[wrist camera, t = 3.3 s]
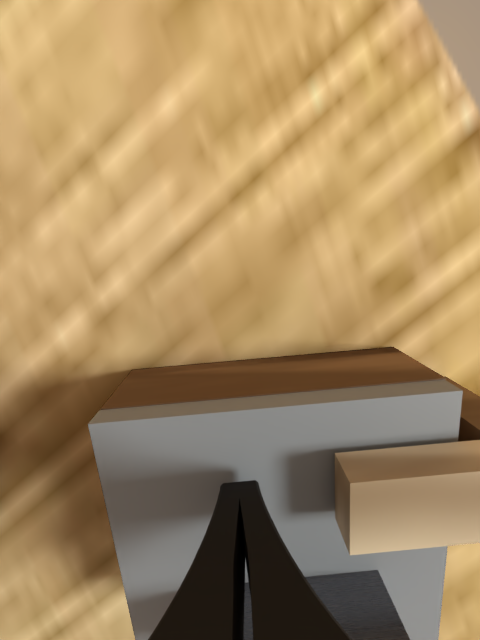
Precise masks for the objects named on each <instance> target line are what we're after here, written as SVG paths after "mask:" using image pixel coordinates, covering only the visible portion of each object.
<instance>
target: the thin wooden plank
mask: <svg viewBox="0 0 480 640" xmlns="http://www.w3.org/2000/svg"><path fill="white" fill-rule="evenodd" d="M335 519H336V522H337V524H338V527H339V529H340V532H341V534H342V537H343V539H344V542H345V544H346V547H347V550H348V552H349V555H359V554H370V553H380V552H390V551H401V550H411V549H422V548H432V547H443V546H453V545H463V544H474V543H480V440H472V441H461V442H450V443H439V444H429V445H418V446H407V447H396V448H385V449H374V450H363V451H352V452H341V453H335Z"/></svg>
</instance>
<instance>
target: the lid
mask: <svg viewBox="0 0 480 640" xmlns="http://www.w3.org/2000/svg"><path fill="white" fill-rule="evenodd" d="M462 395H463V390H461V389H459V388H458V387H456V386H454V385H453V384H451V383H449V382H448V381H446V380H444V379H443V380H432V381H421V382H409V383H398V384H387V385H376V386H364V387H353V388H342V389H331V390H319V391H308V392H297V393H286V394H274V395H263V396H252V397H241V398H229V399H218V400H207V401H196V402H184V403H173V404H162V405H151V406H139V407H128V408H117V409H106V410H99V411H98V412H97V414H96V415H95V416H94V417H93V418H92V420H91V421H90V422H89V423H88V427H89V432H90V436H91V441H92V445H93V450H94V454H95V459H96V463H97V468H98V472H99V477H100V482H101V486H102V491H103V495H104V500H105V504H106V509H107V513H108V518H109V522H110V527H111V531H112V536H113V540H114V545H115V549H116V554H117V558H118V563H119V567H120V572H121V576H122V581H123V585H124V590H125V594H126V599H127V604H128V608H129V613H130V617H131V622H132V626H133V631H134V635H135V640H148V639H149V637H150V636H151V634H152V633H153V631H154V630H155V628H156V627H157V625H158V623H159V622H160V620H161V619H162V617H163V615H164V614H165V612H166V610H167V608H168V607H169V605H170V603H171V602H172V600H173V598H174V597H175V595H176V593H177V591H178V589H179V588H180V586H181V584H182V582H183V580H184V578H185V576H186V574H187V572H188V570H189V568H190V566H191V564H192V562H193V560H194V558H195V556H196V554H197V551H198V549H199V547H200V545H201V542H202V540H203V538H204V536H205V533H206V530H207V528H208V525H209V523H210V520H211V517H212V515H213V512H214V509H215V506H216V502H217V499H218V495H219V491H220V486H221V485H222V484H223V483H231V482H241V481H252V480H256V481H257V482H258V483H259V487H260V491H261V494H262V497H263V500H264V502H265V505H266V507H267V509H268V512H269V514H270V516H271V518H272V520H273V522H274V524H275V526H276V528H277V530H278V533H279V534H280V536H281V538H282V540H283V542H284V544H285V545H286V547H287V549H288V551H289V552H290V554H291V556H292V557H293V559H294V561H295V562H296V564H297V566H298V567H299V569H300V570H301V572H302V573H303V575H304V576H305V578H306V579H307V581H308V582H309V584H310V585H311V587H312V588H313V590H314V591H315V592H316V594H317V595H318V597H319V598H320V600H321V601H322V602H323V603H324V605H325V606H326V607H327V609H328V610H329V611H330V613H331V614H332V615H333V616H334V618H335V619H336V620H337V622H338V623H339V624H340V625H341V627H342V628H343V629H344V631H345V632H346V633H347V634H348V635H349V637H350V638H351V639H352V640H438V636H439V626H440V616H441V606H442V596H443V586H444V576H445V566H446V556H447V546H443V547H432V548H422V549H411V550H401V551H390V552H380V553H370V554H359V555H349V552H348V550H347V547H346V544H345V542H344V539H343V537H342V534H341V532H340V529H339V527H338V524H337V522H336V519H335V453H341V452H352V451H363V450H374V449H385V448H396V447H407V446H418V445H429V444H439V443H450V442H458V435H459V425H460V415H461V405H462ZM244 640H253V627H252V607H251V595H250V588H249V581H248V573H247V566H246V558H245V600H244Z"/></svg>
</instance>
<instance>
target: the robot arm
mask: <svg viewBox="0 0 480 640" xmlns="http://www.w3.org/2000/svg"><path fill="white" fill-rule="evenodd" d="M245 558H246V566H247V573H248V581H249V588H250V595H251V607H252V627H253V640H352V639H351V638H350V637H349V635H348V634H347V633H346V632H345V631H344V629H343V628H342V627H341V625H340V624H339V623H338V622H337V620H336V619H335V618H334V616H333V615H332V614H331V613H330V611H329V610H328V609H327V607H326V606H325V605H324V603H323V602H322V601H321V600H320V598H319V597H318V595H317V594H316V592H315V591H314V590H313V588H312V587H311V585H310V584H309V582H308V581H307V579H306V578H305V576H304V575H303V573H302V572H301V570H300V569H299V567H298V566H297V564H296V562H295V561H294V559H293V557H292V556H291V554H290V552H289V551H288V549H287V547H286V545H285V544H284V542H283V540H282V538H281V536H280V534H279V533H278V530H277V528H276V526H275V524H274V522H273V520H272V518H271V516H270V514H269V512H268V509H267V507H266V505H265V502H264V500H263V497H262V494H261V491H260V487H259V483H258V482H257V481H256V480H252V481H241V482H231V483H223V484H222V485H221V486H220V491H219V495H218V499H217V502H216V506H215V509H214V512H213V515H212V517H211V520H210V523H209V525H208V528H207V530H206V533H205V536H204V538H203V540H202V542H201V545H200V547H199V549H198V551H197V554H196V556H195V558H194V560H193V562H192V564H191V566H190V568H189V570H188V572H187V574H186V576H185V578H184V580H183V582H182V584H181V586H180V588H179V589H178V591H177V593H176V595H175V597H174V598H173V600H172V602H171V603H170V605H169V607H168V608H167V610H166V612H165V614H164V615H163V617H162V619H161V620H160V622H159V623H158V625H157V627H156V628H155V630H154V631H153V633H152V634H151V636H150V637H149V639H148V640H244V600H245Z"/></svg>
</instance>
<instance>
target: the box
mask: <svg viewBox="0 0 480 640" xmlns="http://www.w3.org/2000/svg"><path fill="white" fill-rule="evenodd" d="M443 379H444V380H446V381H448V382H449V383H451V384H453V385H454V386H456V387H458V388H459V389H461V390H463V395H462V405H461V415H460V425H459V435H458V442H461V441H472V440H480V397H479V396H478V395H476V394H474V393H473V392H471V391H469V390H468V389H466V388H464V387H462V386H461V385H459V384H457V383H456V382H454V381H452V380H450V379H449V378H447V377H443V376H441V375H440V374H438V373H436V372H435V371H433V370H431V369H430V368H428V367H426V366H425V365H423V364H421V363H419V362H418V361H416V360H414V359H413V358H411V357H409V356H408V355H406V354H404V353H403V352H401V351H399V350H398V349H396V348H394V347H388V348H376V349H365V350H353V351H342V352H330V353H319V354H307V355H296V356H284V357H273V358H261V359H250V360H238V361H227V362H215V363H204V364H192V365H181V366H169V367H158V368H147V369H135V370H132V371H131V372H130V373H129V374H128V376H127V377H126V378H125V379H124V381H123V382H122V383H121V384H120V385H119V387H118V388H117V389H116V390H115V392H114V393H113V394H112V395H111V396H110V398H109V399H108V400H107V401H106V403H105V404H104V405H103V406H102V407H101V410H106V409H117V408H128V407H139V406H151V405H162V404H173V403H184V402H196V401H207V400H218V399H229V398H241V397H252V396H263V395H274V394H286V393H297V392H308V391H319V390H331V389H342V388H353V387H364V386H376V385H387V384H398V383H409V382H421V381H432V380H443Z"/></svg>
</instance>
